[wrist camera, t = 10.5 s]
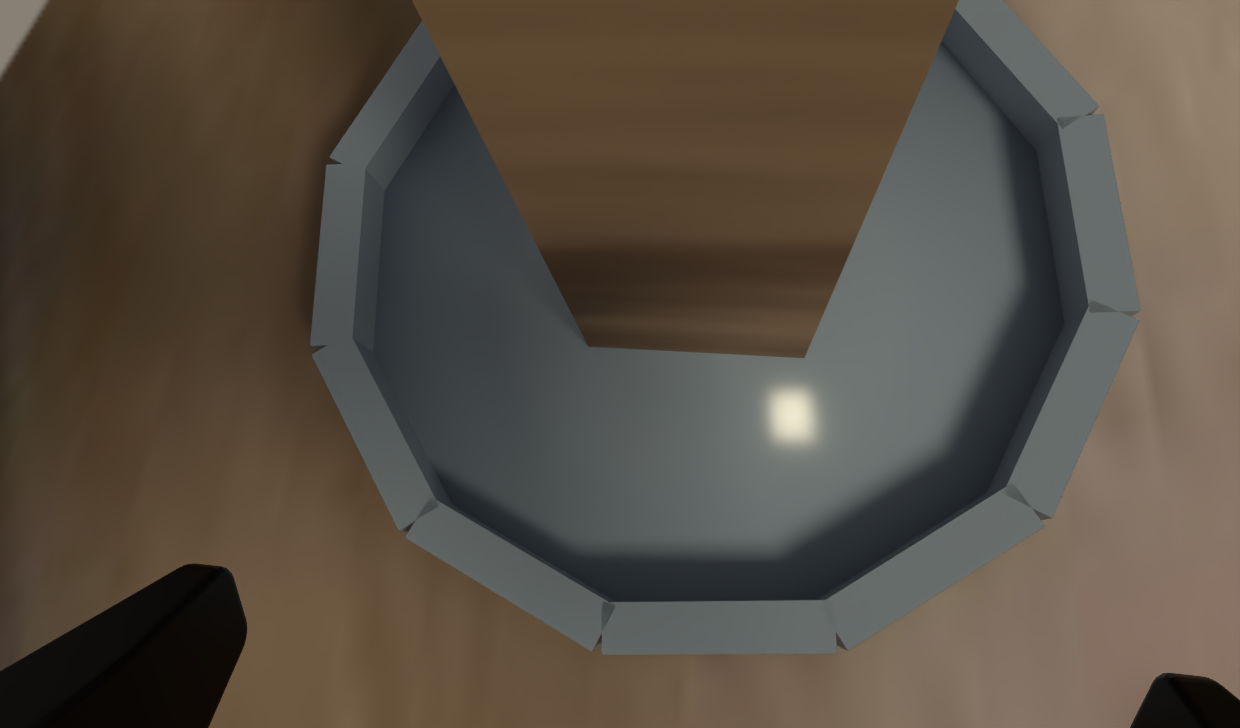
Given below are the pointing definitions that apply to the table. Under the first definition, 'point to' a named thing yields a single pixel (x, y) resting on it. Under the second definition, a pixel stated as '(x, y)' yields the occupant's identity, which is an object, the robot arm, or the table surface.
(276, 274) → the table surface
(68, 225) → the table surface
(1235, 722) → the robot arm
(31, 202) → the table surface
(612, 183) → the walnut block
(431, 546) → the ceramic dish
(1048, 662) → the table surface
